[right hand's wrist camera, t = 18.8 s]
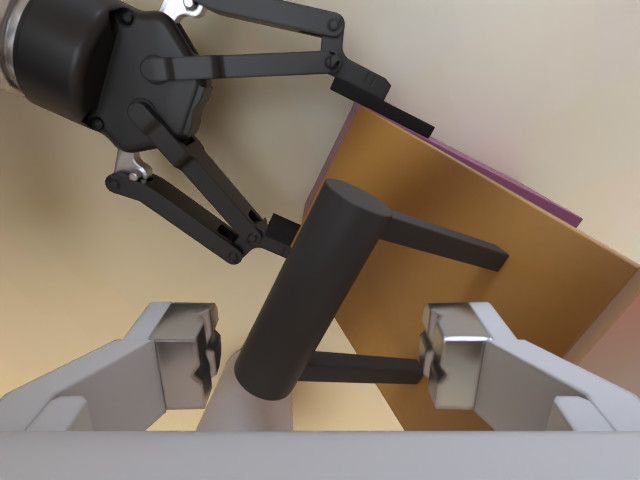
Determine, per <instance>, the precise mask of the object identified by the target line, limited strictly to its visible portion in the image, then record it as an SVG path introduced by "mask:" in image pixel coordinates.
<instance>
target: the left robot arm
mask: <svg viewBox="0 0 640 480" xmlns="http://www.w3.org/2000/svg"><path fill="white" fill-rule="evenodd" d="M207 9H208V10H210V11H212V12H215V13H217V14H219V15H223V16H226V17H231V18H235V19H240V20H244V21H249V22H253V23H258V24H262V25H267V26H271V27H275V28H280V29H284V30H289V31H293V32H298V33H302V34H307V35H311V36H316V37H320V38H322V42H321V51H309V52H287V53H264V54H242V55H210V56H199V54H198V53H197V51H196V49H195V48H194V46H193V44H192V43H191V41H190V39H189V38H188V36H187V34H186V33H185V31H184V29H183V28H182V26H181V24H180V21H181V20H182V19H183V18H184V17H187V16H191V17H194V18H201V17H203V16H204V15H205V13H206V11H207ZM344 27H345V22H344V19H343V17H342V16H341V15H340V14H338V13H335V12H331V11H327V10H322V9H318V8H313V7H309V6H305V5H300V4H296V3H292V2H287V1H283V0H163V2H162V4H161V7H160V9H159V11H141V10H138V9H136V8H134V7H132V6H130V5H128V4H126V3H124V2H122V1H120V0H0V89H2V90H4V91H6V92H8V93H11V94H13V95H15V96H17V97H26V98H27V99H28V100H29V101H30V102H32V103H33V104H36V105H38V106H40V107H42V108H45V109H47V110H49V111H51V112H54V113H56V114H58V115H60V116H63V117H65V118H67V119H69V120H72V121H74V122H76V123H78V124H81V125H83V126H85V127H88V128H90V129H93V130H95V131H98V132H100V133H102V134H103V135H105V136H106V137H107V138H108V139H109V140H110V141H111V142H112V143H113V144H114V145H115V146H116V147H117V148H118V153H117V159H116V165H115V171H114V173H113V174H111V175H109V176H108V177H107V178H106V180H105V185H106V187H107V188H108V189H109V190H110V191H111V192H113V193H116V194H119V195H123V196H126V197H129V198H132V199H135V200H138V201H140V202H142V203H143V204H145V205H146V206H148V207H149V208H150V209H152V210H153V211H155V212H156V213H158V214H159V215H160V216H162V217H163V218H165V219H166V220H168V221H169V222H170V223H172V224H173V225H175V226H176V227H178V228H179V229H180V230H182V231H183V232H185V233H186V234H188V235H189V236H190V237H192V238H193V239H195V240H196V241H198V242H199V243H201V244H202V245H203V246H205V247H206V248H208V249H209V250H211V251H212V252H213V253H215V254H216V255H218V256H219V257H221V258H222V259H223V260H225V261H226V262H228V263H230V264H234V265H235V264H238V263H240V262H241V260H242V258H243V257H244V256H245V255H246V254H247V253H248V252H249V251H250V250H252V249H254V248H263V249H266V250H268V251H270V252H273V253H275V254H277V255H280V256H282V257H284V258H287V256H288V254H289V252H290V250H291V244H292V242H293V240H294V238H295V236H296V234H297V232H298V230H299V228H300V226H301V225H299V224H297V223H295V222H292V221H290V220H288V219H286V218H283V217H281V216H279V215H277V214H274V213H273V215H272V217H271V220H270V222H269V225H268V224H267V220H266V218H264V220H263V219H262V218H261V217H260V216H259V214H258V213H257V212H256V211H255V210H254V209H253V207H252V206H251V205H250V204H249V203H248V201H247V200H246V199H245V198H244V197H243V196H242V194H241V193H240V192H239V191H238V190H237V188H236V187H235V186H234V185H233V184H232V183H231V181H230V180H229V179H228V178H227V177H226V176H225V174H224V173H223V172H222V171H221V170H220V168H219V167H218V166H217V165H216V164H215V163H214V161H213V160H212V159H211V158H210V157H209V156H208V154H207V153H206V152H205V150H204V147H203V145H202V144H201V143H200V141H199V140H198V139H197V138H196V137H195V135H194V134H195V133H197V131H198V128H199V126H200V123H201V114H202V108H203V106H204V105H205V104H206V102H207V101H208V99H209V98H210V95H211V92H212V89H213V87H212V86H211V79H217V78H240V77H263V76H286V75H309V74H329V75H331V76H333V77H335V79H334V81H333V83H332V85H331V87H330V89H331V90H333V91H335V92H337V93H339V94H341V95H343V96H344V97H346V98H348V99H350V100H352V101H354V102H356V103H358V104H360V105H362V106H364V107H367V108H369V109H371V110H373V111H375V112H377V113H379V114H381V115H383V116H385V117H386V118H388V119H390V120H392V121H394V122H396V123H398V124H400V125H402V126H404V127H406V128H408V129H410V130H412V131H414V132H416V133H418V134H420V135H422V136H424V137H426V138H428V139H429V137H430V135H431V133H432V132H433V130H434V128H435V127H434V126H432V125H430V124H428V123H426V122H424V121H422V120H420V119H418V118H416V117H414V116H412V115H410V114H408V113H406V112H404V111H402V110H400V109H398V108H396V107H394V106H392V105H390V104H388V103H387V102H385V101H384V99H385V97H386V95H387V93H388V91H389V89H390V87H391V85H390V84H389V82H388V81H387V80H386V79H385V78H384V77H382V76H380V75H378V74H376V73H374V72H372V71H370V70H368V69H366V68H364V67H362V66H360V65H359V64H357V63H355V62H353V61H351V60H349V59H348V58H347V57H346V56H345V55H344V53H343V49H342V44H343V34H344ZM156 148H158V149H159V150H160V151H161V153H162V154H163V155H164V156H165V157H166V158H167V159H168V160H169V162H170V163H171V164H172V165H173V166H174V167H176V168H178V169H180V170H181V171H182V172H183V173H184V174H185V175H186V176H187V177H188V178H189V180H190V181H191V182H192V183H193V184H194V185H195V186H196V187H197V189H198V190H199V191H200V192H201V193H202V194H203V195H204V196H205V198H206V199H207V200H208V201H209V202H210V203H211V204H212V206H213V207H214V208H215V209H216V210H217V211H218V212H219V213H220V215H221V216H222V217H223V218H224V219H225V220H226V221H227V222H228V224H229V225H230V226H231V227H232V228H233V229H232V228H231V227H230V226H228V225H227V224H226V223H224V222H223V221H221V220H220V219H219V218H217V217H216V216H215V215H213V214H212V213H210V212H209V211H208V210H206V209H205V208H203V207H202V206H201V205H199V204H198V203H197V202H195V201H194V200H192V199H191V198H190V197H188V196H187V195H185V194H184V193H183V192H181V191H180V190H179V189H177V188H176V187H174V186H173V185H172V184H170V183H169V182H167V181H166V180H164V179H163V178H161V177H159V176H157V175H154V174H152V168H151V167H150V166H149V165H148V164H146V163H145V162H143V161H142V160H141V158H140V155H139V152H141V151H146V150H151V149H156Z"/></svg>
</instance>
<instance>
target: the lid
mask: <svg viewBox="0 0 640 480" xmlns="http://www.w3.org/2000/svg"><path fill="white" fill-rule="evenodd" d="M639 294H640V265H639V264H637V263H636V262H634V261H632V260H630V259H629V258H627V257H625V256H623V255H622V254H620V253H618V252H616V251H615V250H613V249H611V248H610V247H608V246H606V245H604V244H603V243H601V242H599V241H597V240H596V239H594V238H592V237H590V236H589V235H587V234H585V233H583V232H582V231H580V230H578V229H577V228H575V227H573V226H571V225H570V224H568V223H566V222H564V221H563V220H561V219H559V218H557V217H556V216H554V215H552V214H550V213H549V212H547V211H545V210H544V209H542V208H540V207H538V206H537V205H535V204H533V203H531V202H530V201H528V200H526V199H524V198H523V197H521V196H519V195H518V194H516V193H514V192H512V191H511V190H509V189H507V188H505V187H504V186H502V185H500V184H498V183H497V182H495V181H493V180H491V179H490V178H488V177H486V176H485V175H483V174H481V173H479V172H478V171H476V170H474V169H472V168H471V167H469V166H467V165H465V164H464V163H462V162H460V161H459V160H457V159H455V158H453V157H452V156H450V155H448V154H446V153H445V152H443V151H441V150H439V149H438V148H436V147H434V146H432V145H431V144H429V143H427V142H426V141H424V140H422V139H420V138H419V137H417V136H415V135H413V134H412V133H410V132H408V131H406V130H405V129H403V128H401V127H399V126H398V125H396V124H394V123H393V122H391V121H389V120H387V119H386V118H384V117H382V116H380V115H379V114H377V113H375V112H373V111H371V110H369V109H367V108H365V107H363V106H359V108H358V110H357V112H356V114H355V116H354V118H353V121H352V123H351V125H350V127H349V129H348V131H347V133H346V135H345V137H344V139H343V141H342V143H341V145H340V147H339V149H338V151H337V153H336V155H335V157H334V159H333V161H332V163H331V165H330V167H329V169H328V171H327V173H326V175H325V177H324V179H323V181H322V183H321V185H320V187H319V190H318V192H317V194H316V196H315V198H314V200H313V202H312V204H311V206H310V208H309V210H308V212H307V214H306V216H305V218H304V220H303V222H302V224H301V226H300V228H299V230H298V232H297V234H296V236H295V238H294V240H293V242H292V244H291V250H290V252H289V254H288V256H287V258H286V260H285V262H284V264H283V266H282V268H281V270H280V272H279V274H278V276H277V278H276V281H275V283H274V285H273V287H272V289H271V291H270V293H269V295H268V297H267V299H266V301H265V303H264V305H263V307H262V309H261V311H260V313H259V315H258V317H257V319H256V321H255V323H254V325H253V327H252V329H251V331H250V333H249V335H248V337H247V339H246V341H245V343H244V345H243V347H242V349H241V351H240V353H239V355H238V357H237V359H236V361H235V364H234V373H235V376H236V379H237V381H238V382H239V384H240V385H241V386H242V387H243V388H244V389H245V390H246V391H247V392H249V393H250V394H252V395H253V396H255V397H258V398H260V399H263V400H268V401H277V400H281V399H284V398H285V397H287V396H288V395H289V394H290V393H291V391H292V390H293V388H294V386H295V384H296V383H297V381H314V382H348V383H375V384H376V385H377V387H378V388H379V390H380V392H381V393H382V395H383V396H384V398H385V400H386V401H387V403H388V405H389V406H390V408H391V409H392V411H393V413H394V414H395V416H396V417H397V419H398V421H399V422H400V424H401V426H402V427H403V429H404V430H405V431H495V430H494V429H493V428H492V427H491V426H489V425H488V424H487V423H486V422H485V421H484V420H483V419H482V418H481V417H479V416H478V415H477V414H476V413H475V412H474V410H464V409H435V406H434V403H433V401H432V398H431V395H430V392H429V389H428V382H429V378H428V377H426V376H425V375H424V374H423V372H422V369H421V365H420V360H419V337H420V334H421V333H422V332H423V331H424V330H425V327H424V325H423V322H422V320H421V317H422V310H423V306H424V304H426V303H461V302H468V303H469V302H488V303H490V304H491V305H492V306H493V308H494V309H495V310H496V312H497V313H498V314H499V316H500V317H501V318H502V320H503V321H504V322H505V324H506V325H507V326H508V328H509V329H510V330H511V332H512V333H513V334H514V336H515V337H516V338H517V339H518V340H526V341H528V342H530V343H532V344H534V345H536V346H538V347H540V348H542V349H544V350H546V351H548V352H550V353H552V354H554V355H556V356H558V357H560V358H562V359H564V360H566V361H568V362H570V363H572V364H574V365H576V366H577V365H578V364H579V362H580V361H581V360H582V359H583V358H584V357H585V355H586V354H587V353H588V352H589V351H590V350H591V349H592V348H593V346H594V345H595V344H596V343H597V342H598V341H599V340H600V338H601V337H602V336H603V335H604V334H605V333H606V331H607V330H608V329H609V328H610V327H611V326H612V325H613V324H614V322H615V321H616V320H617V319H618V318H619V317H620V315H621V314H622V313H623V312H624V311H625V310H626V309H627V308H628V306H629V305H630V304H631V303H632V302H633V301H634V299H635V298H636V297H637V296H638V295H639ZM334 317H335V319H336V321H337V322H338V324H339V325H340V327H341V329H342V330H343V332H344V334H345V335H346V337H347V338H348V340H349V342H350V343H351V345H352V346H353V348H354V350H355V351H356V353H357V354H345V353H332V352H319V351H315V350H316V348H317V346H318V344H319V343H320V341H321V339H322V338H323V336H324V334H325V332H326V331H327V329H328V327H329V325H330V324H331V322H332V320H333V318H334Z"/></svg>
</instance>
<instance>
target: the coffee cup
mask: <svg viewBox="0 0 640 480" xmlns="http://www.w3.org/2000/svg"><path fill="white" fill-rule="evenodd" d="M240 351H241V350H239V351H238V352H236V353H235V354H233V355H232V356H231V358H230V359H229V360H228V362H227V364H226V366H225V368H224V370H223V373H222V375H221V377H220V379H219V381H218V383H217V386H216V388H215V390H214V392H213V394H212V396H211V399H210V401H209V403H208V405H207V407H206V409H205V411H204V414H203V416H202V418H201V420H200V422H199V424H198V427H197V429H196V431H293V413H292V391H291V393H290V394H289V395H288V396H287V397H285V398H284V399H281V400H277V401H268V400H263V399H260V398H258V397H255V396H253V395H252V394H250V393H249V392H247V391H246V390H245V389H244V388H243V387H242V386H241V385H240V384H239V382H238V381H237V379H236V376H235V373H234V364H235V361H236V359H237V357H238V355H239V353H240Z"/></svg>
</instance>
